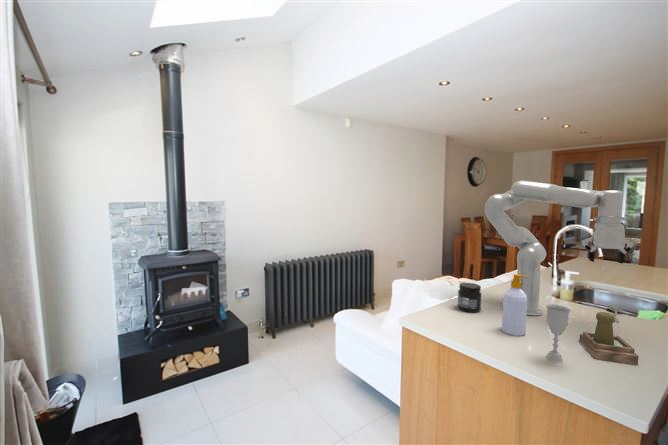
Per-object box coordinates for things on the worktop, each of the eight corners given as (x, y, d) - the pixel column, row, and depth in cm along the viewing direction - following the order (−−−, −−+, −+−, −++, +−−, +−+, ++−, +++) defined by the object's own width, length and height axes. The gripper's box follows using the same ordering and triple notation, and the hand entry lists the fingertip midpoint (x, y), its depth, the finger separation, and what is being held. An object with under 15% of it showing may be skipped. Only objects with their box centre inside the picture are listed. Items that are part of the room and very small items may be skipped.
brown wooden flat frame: (594, 358, 113) (595, 345, 113) (579, 341, 127) (580, 330, 126) (637, 364, 110) (638, 351, 109) (617, 346, 123) (618, 334, 122)
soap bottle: (518, 338, 129) (522, 278, 126) (496, 329, 137) (499, 273, 135) (532, 334, 133) (535, 276, 130) (510, 325, 141) (513, 271, 139)
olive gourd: (618, 347, 115) (621, 316, 114) (598, 345, 116) (601, 315, 115) (607, 339, 121) (609, 310, 120) (588, 338, 122) (591, 309, 121)
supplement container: (476, 306, 165) (477, 282, 164) (483, 313, 155) (485, 288, 154) (454, 305, 166) (455, 281, 165) (460, 312, 156) (461, 287, 155)
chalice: (537, 354, 116) (540, 304, 115) (555, 353, 117) (559, 303, 115) (553, 364, 109) (556, 311, 107) (572, 364, 110) (576, 311, 108)
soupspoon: (623, 313, 160) (606, 310, 165) (623, 306, 160) (606, 304, 164) (626, 325, 143) (606, 322, 147) (626, 317, 143) (606, 314, 147)
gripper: (587, 220, 134) (584, 262, 136) (640, 222, 129) (636, 265, 130) (580, 219, 142) (577, 258, 143) (630, 220, 136) (626, 261, 137)
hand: (605, 261), depth 137 cm, fingers open, 9 cm apart
